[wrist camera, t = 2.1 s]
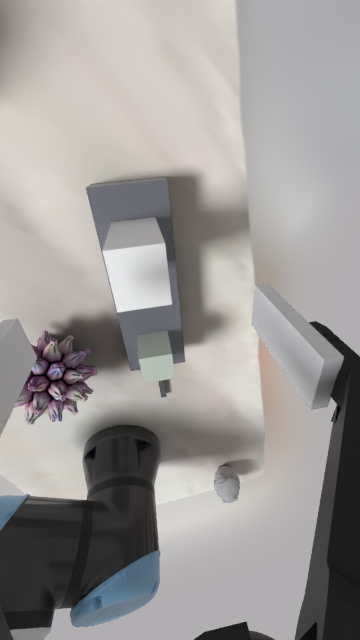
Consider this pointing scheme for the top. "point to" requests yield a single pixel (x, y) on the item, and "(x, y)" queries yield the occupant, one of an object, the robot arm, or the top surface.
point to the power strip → (151, 202)
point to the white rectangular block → (137, 264)
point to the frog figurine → (227, 484)
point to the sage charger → (155, 357)
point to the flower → (55, 380)
